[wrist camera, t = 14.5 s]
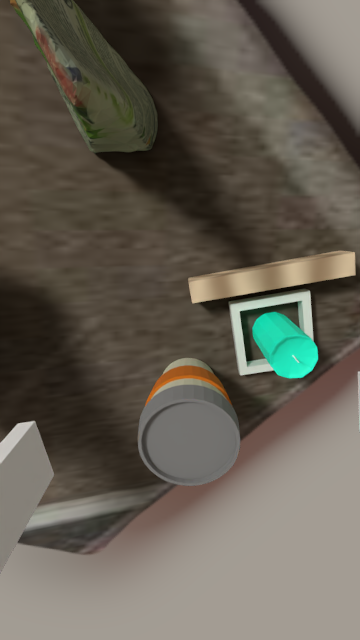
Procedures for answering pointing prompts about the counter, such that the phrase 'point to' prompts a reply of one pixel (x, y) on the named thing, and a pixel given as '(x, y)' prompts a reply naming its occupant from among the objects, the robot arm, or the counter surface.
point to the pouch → (91, 77)
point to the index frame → (265, 301)
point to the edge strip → (272, 276)
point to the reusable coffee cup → (188, 426)
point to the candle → (285, 345)
